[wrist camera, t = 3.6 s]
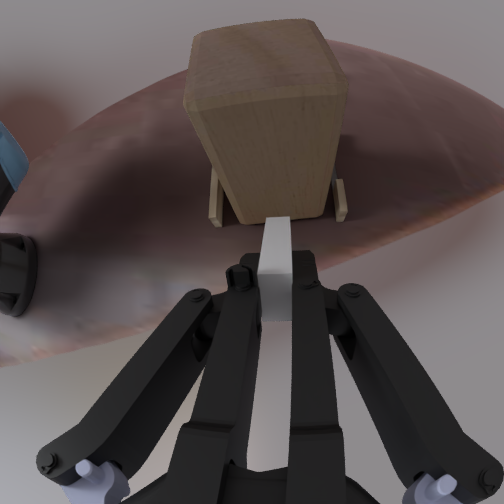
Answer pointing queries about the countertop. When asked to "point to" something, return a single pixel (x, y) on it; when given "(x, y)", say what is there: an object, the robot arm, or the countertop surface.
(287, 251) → the robot arm
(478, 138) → the countertop surface
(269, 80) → the wooden block
